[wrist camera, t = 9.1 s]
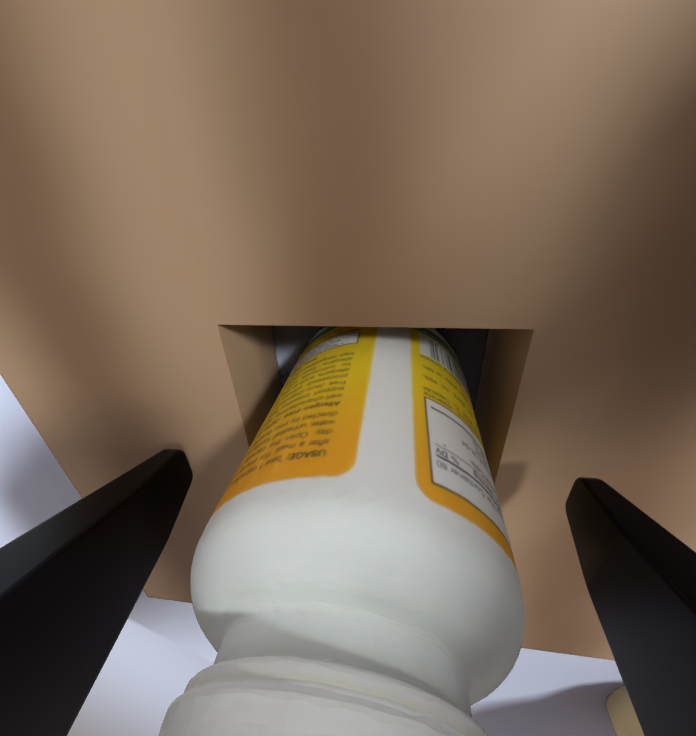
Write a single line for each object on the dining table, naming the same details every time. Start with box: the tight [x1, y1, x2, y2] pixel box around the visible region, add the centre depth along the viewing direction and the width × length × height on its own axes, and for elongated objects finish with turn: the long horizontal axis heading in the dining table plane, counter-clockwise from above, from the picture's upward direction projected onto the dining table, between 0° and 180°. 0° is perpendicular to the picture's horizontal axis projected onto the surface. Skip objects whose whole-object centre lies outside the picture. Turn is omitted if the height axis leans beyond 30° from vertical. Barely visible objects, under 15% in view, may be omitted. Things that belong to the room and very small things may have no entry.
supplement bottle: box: [159, 326, 525, 736], centre depth 7 cm, size 5×5×10 cm
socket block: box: [0, 0, 696, 660], centre depth 10 cm, size 20×20×3 cm
